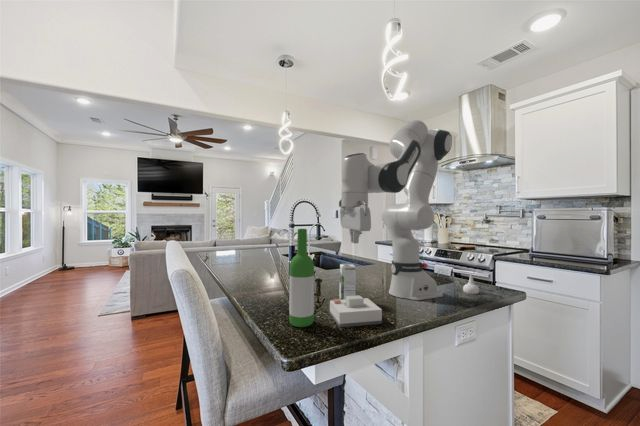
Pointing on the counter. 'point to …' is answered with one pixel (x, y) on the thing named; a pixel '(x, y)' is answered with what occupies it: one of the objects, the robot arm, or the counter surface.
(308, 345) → the counter surface
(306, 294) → the wine bottle
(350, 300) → the plug
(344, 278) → the syrup box
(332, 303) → the socket block
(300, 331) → the counter surface
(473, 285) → the garlic bulb
